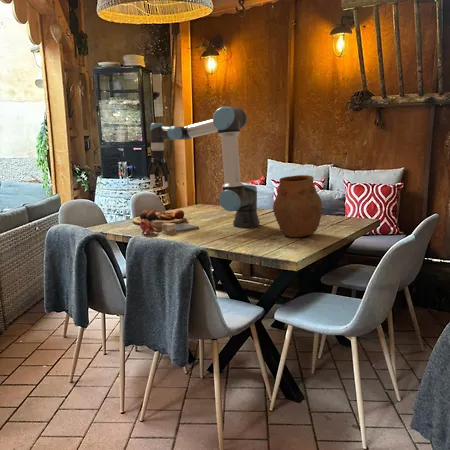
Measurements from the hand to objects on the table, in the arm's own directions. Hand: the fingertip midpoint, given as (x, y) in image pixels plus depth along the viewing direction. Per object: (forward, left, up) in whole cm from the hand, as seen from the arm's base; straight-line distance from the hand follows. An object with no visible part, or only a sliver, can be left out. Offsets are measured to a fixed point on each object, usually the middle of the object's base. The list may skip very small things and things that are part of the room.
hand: (158, 186), depth 257 cm
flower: (-26, +24, -21) cm, 42 cm away
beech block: (-32, +16, -21) cm, 42 cm away
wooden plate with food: (0, +1, -22) cm, 22 cm away
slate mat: (-27, +4, -21) cm, 35 cm away
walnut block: (-21, +16, -21) cm, 34 cm away
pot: (-82, -28, -21) cm, 89 cm away
